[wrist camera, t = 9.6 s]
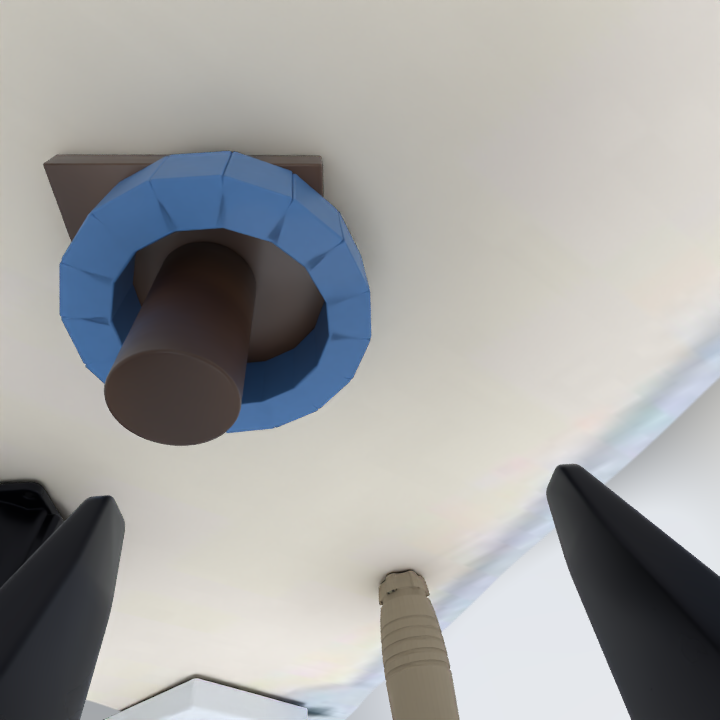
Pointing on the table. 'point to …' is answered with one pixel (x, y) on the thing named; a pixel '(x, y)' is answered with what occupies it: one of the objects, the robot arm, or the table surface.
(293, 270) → the peg stand
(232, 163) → the tape
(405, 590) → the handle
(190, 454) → the table surface
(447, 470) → the table surface
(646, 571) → the robot arm
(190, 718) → the trophy
